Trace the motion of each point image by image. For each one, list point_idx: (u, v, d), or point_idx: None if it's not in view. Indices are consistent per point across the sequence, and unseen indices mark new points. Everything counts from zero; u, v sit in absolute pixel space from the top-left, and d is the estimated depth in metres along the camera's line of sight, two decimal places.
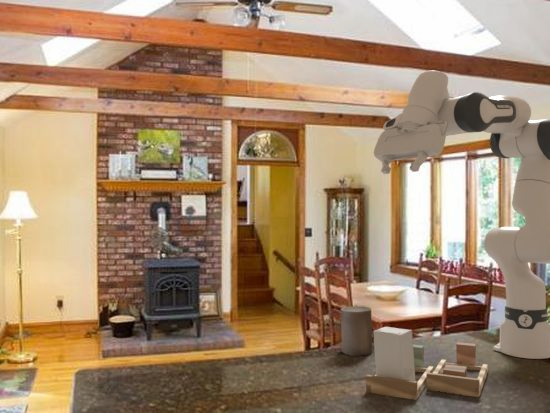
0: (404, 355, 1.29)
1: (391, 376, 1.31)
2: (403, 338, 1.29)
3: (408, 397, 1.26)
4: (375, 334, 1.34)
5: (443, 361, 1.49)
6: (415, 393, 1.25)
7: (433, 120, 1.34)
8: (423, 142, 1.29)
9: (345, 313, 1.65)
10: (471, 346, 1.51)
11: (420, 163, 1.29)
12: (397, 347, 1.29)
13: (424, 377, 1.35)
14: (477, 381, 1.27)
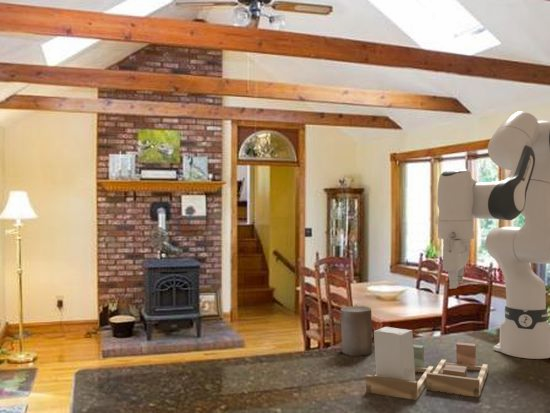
0: (404, 355, 1.29)
1: (391, 376, 1.31)
2: (403, 338, 1.29)
3: (408, 397, 1.26)
4: (375, 334, 1.34)
5: (443, 361, 1.49)
6: (415, 393, 1.25)
7: (457, 226, 1.33)
8: None
9: (345, 313, 1.65)
10: (471, 346, 1.51)
11: (454, 280, 1.32)
12: (397, 347, 1.29)
13: (424, 377, 1.35)
14: (477, 381, 1.27)
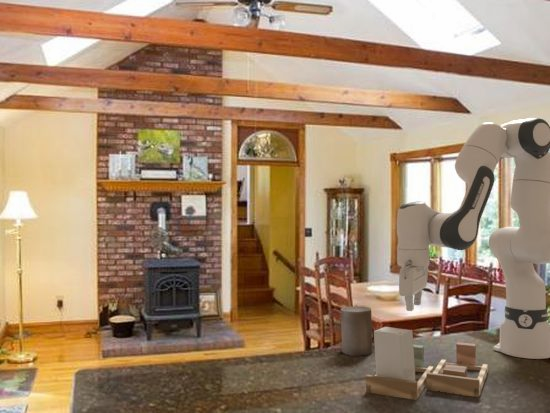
0: (404, 355, 1.29)
1: (391, 376, 1.31)
2: (403, 338, 1.29)
3: (408, 397, 1.26)
4: (375, 334, 1.34)
5: (443, 361, 1.49)
6: (415, 393, 1.25)
7: (413, 255, 1.47)
8: None
9: (345, 313, 1.65)
10: (471, 346, 1.51)
11: (410, 303, 1.46)
12: (397, 347, 1.29)
13: (424, 377, 1.35)
14: (477, 381, 1.27)
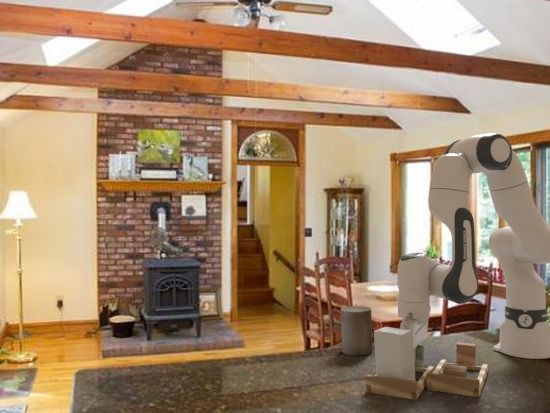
0: (404, 355, 1.29)
1: (391, 376, 1.31)
2: (403, 338, 1.29)
3: (408, 397, 1.26)
4: (375, 334, 1.34)
5: (443, 361, 1.49)
6: (415, 393, 1.25)
7: (414, 308, 1.47)
8: None
9: (345, 313, 1.65)
10: (471, 346, 1.51)
11: None
12: (397, 347, 1.29)
13: (424, 377, 1.35)
14: (477, 381, 1.27)
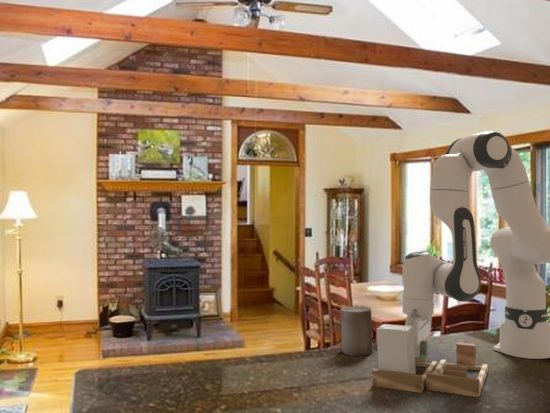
0: (409, 351, 1.34)
1: None
2: (408, 334, 1.33)
3: (413, 390, 1.31)
4: (379, 332, 1.36)
5: (443, 361, 1.49)
6: (420, 386, 1.30)
7: (418, 304, 1.52)
8: None
9: (345, 313, 1.65)
10: (471, 346, 1.51)
11: (417, 349, 1.53)
12: (403, 343, 1.33)
13: (428, 371, 1.40)
14: (477, 381, 1.27)
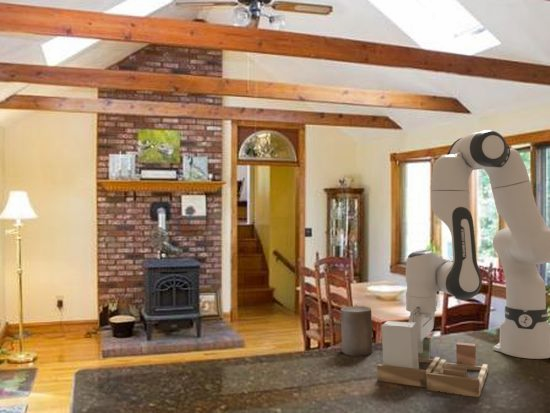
0: (413, 346, 1.38)
1: None
2: (412, 330, 1.38)
3: (417, 385, 1.35)
4: (383, 328, 1.40)
5: (443, 361, 1.49)
6: (423, 381, 1.34)
7: (421, 302, 1.56)
8: None
9: (345, 313, 1.65)
10: (471, 346, 1.51)
11: (420, 346, 1.57)
12: (408, 339, 1.37)
13: (431, 367, 1.44)
14: (477, 381, 1.27)
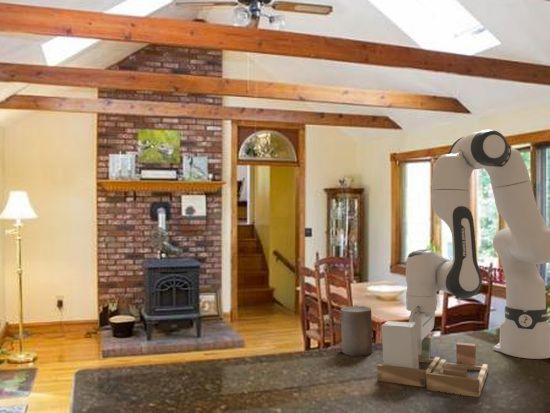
0: (413, 346, 1.38)
1: None
2: (412, 330, 1.38)
3: (417, 384, 1.35)
4: (383, 328, 1.40)
5: (443, 361, 1.49)
6: (424, 381, 1.34)
7: (421, 301, 1.56)
8: None
9: (345, 313, 1.65)
10: (471, 346, 1.51)
11: (419, 347, 1.55)
12: (408, 339, 1.37)
13: (431, 367, 1.44)
14: (477, 381, 1.27)
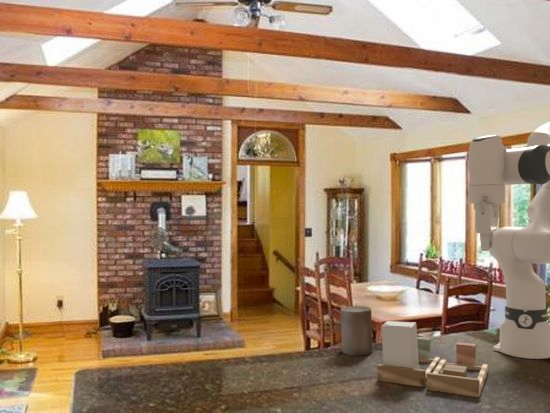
0: (413, 346, 1.38)
1: None
2: (412, 330, 1.38)
3: (417, 384, 1.35)
4: (383, 328, 1.40)
5: (443, 361, 1.49)
6: (424, 381, 1.34)
7: (489, 190, 1.36)
8: None
9: (345, 313, 1.65)
10: (471, 346, 1.51)
11: (486, 242, 1.34)
12: (408, 339, 1.37)
13: (431, 367, 1.44)
14: (477, 381, 1.27)
